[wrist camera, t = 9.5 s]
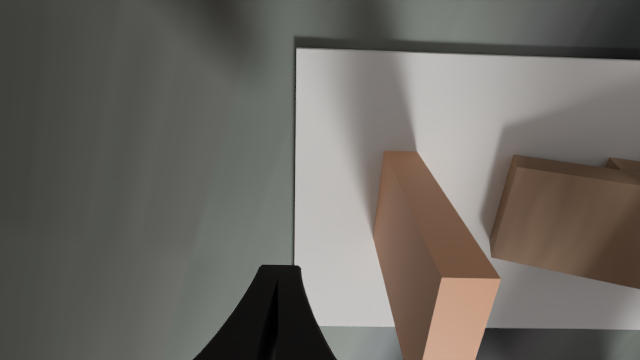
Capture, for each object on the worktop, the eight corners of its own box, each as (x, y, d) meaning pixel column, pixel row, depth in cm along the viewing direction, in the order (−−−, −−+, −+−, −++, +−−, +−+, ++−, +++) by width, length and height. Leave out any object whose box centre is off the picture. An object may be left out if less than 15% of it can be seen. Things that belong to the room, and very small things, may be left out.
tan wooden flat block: (417, 151, 18) (501, 278, 10) (402, 238, 20) (462, 399, 12) (383, 150, 18) (441, 277, 10) (372, 237, 20) (413, 399, 12)
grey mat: (761, 326, 24) (768, 331, 24) (294, 320, 23) (293, 325, 23) (954, 71, 17) (967, 73, 17) (296, 47, 16) (296, 48, 16)
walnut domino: (513, 154, 18) (747, 187, 16) (489, 240, 21) (691, 281, 18) (517, 167, 17) (773, 205, 15) (490, 257, 19) (709, 304, 17)
